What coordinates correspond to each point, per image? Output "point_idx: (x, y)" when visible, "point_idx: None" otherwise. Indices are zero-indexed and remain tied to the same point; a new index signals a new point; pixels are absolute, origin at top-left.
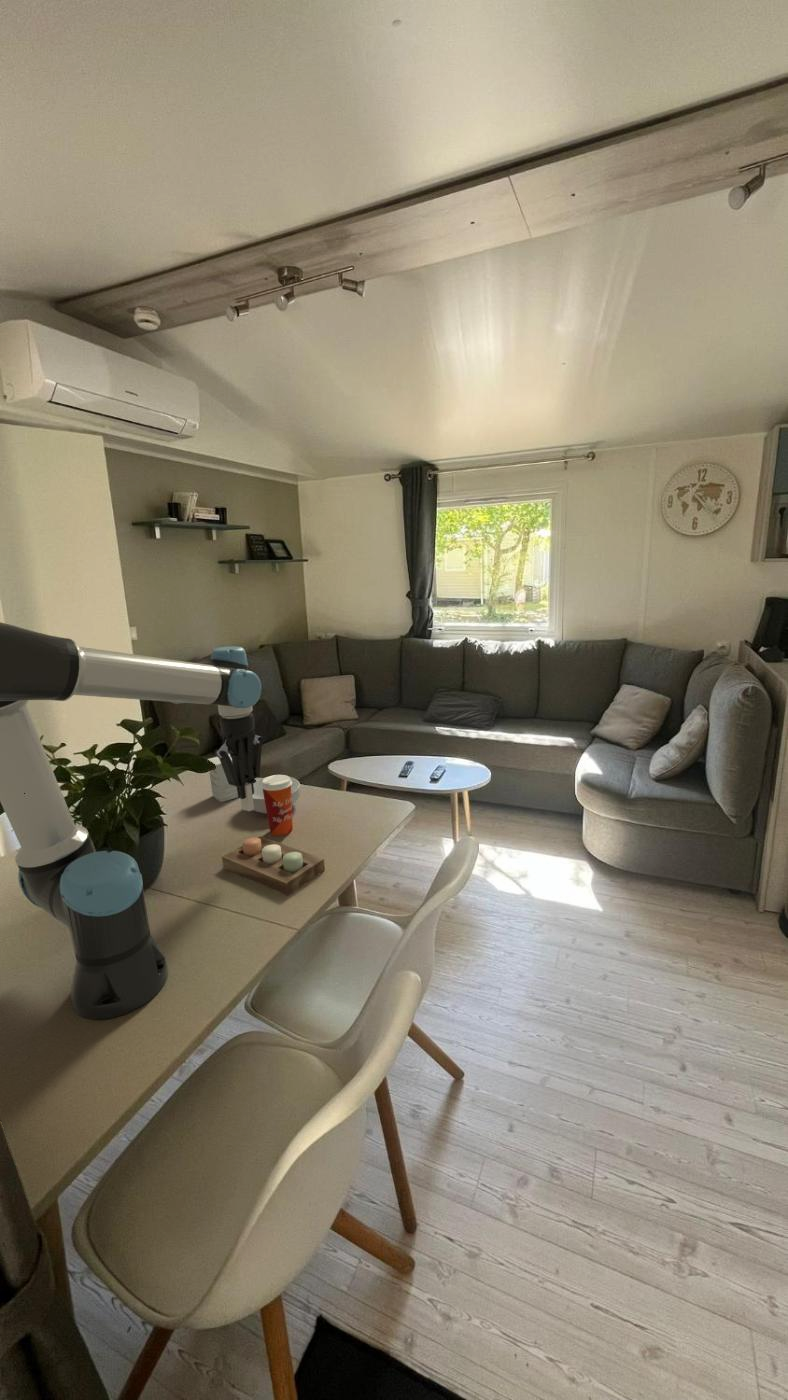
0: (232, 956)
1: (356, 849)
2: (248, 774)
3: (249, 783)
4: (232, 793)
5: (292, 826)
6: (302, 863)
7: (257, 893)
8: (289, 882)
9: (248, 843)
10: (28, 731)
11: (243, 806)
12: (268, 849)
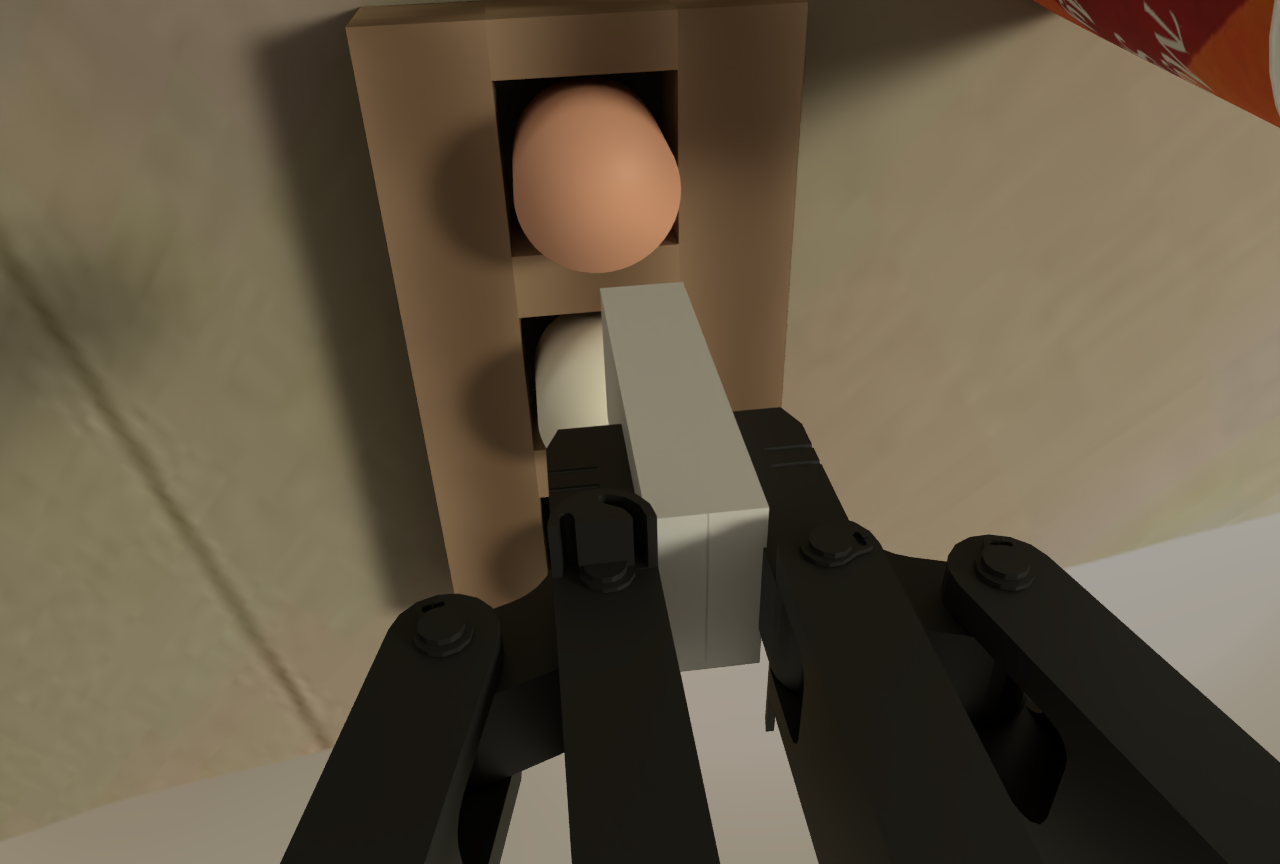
0: (24, 728)
1: (1011, 530)
2: (803, 781)
3: (755, 636)
4: None
5: None
6: None
7: (362, 465)
8: None
9: (559, 201)
10: None
11: (606, 348)
12: (593, 407)
